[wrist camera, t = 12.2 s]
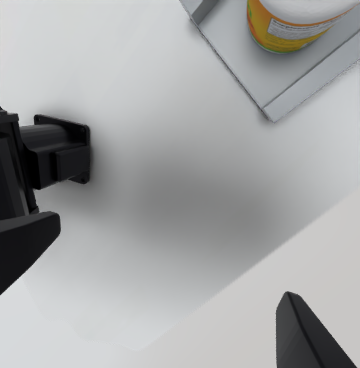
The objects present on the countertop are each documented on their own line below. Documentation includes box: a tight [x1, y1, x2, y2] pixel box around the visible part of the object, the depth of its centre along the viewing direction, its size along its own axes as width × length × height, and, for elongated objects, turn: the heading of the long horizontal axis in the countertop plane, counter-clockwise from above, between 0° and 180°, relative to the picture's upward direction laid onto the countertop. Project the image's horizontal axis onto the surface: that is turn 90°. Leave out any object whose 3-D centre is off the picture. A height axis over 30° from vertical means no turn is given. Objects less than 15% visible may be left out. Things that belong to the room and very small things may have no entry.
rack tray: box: [179, 0, 360, 123], centre depth 13 cm, size 10×10×3 cm
